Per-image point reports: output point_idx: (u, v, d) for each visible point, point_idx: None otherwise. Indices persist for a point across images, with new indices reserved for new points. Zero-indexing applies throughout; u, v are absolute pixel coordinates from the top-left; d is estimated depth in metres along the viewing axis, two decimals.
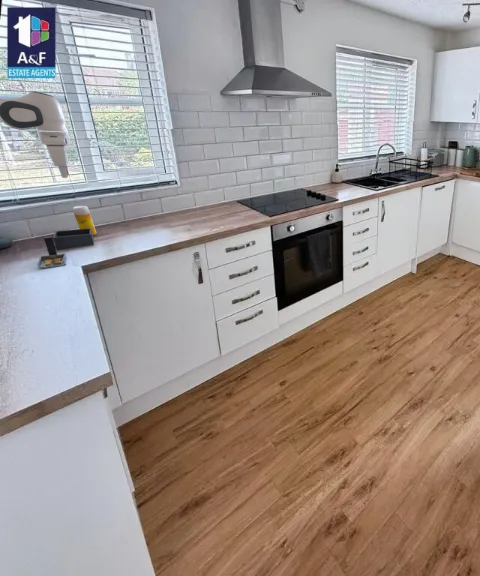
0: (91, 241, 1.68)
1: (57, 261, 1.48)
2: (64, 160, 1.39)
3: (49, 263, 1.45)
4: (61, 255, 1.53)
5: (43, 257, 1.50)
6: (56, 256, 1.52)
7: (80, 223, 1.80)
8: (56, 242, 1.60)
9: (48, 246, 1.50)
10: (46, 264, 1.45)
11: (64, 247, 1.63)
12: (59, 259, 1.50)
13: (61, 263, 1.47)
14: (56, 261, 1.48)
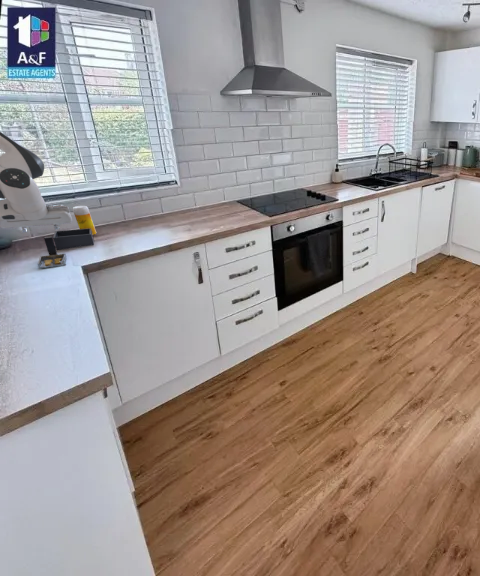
0: (91, 241, 1.68)
1: (57, 261, 1.48)
2: None
3: (49, 263, 1.45)
4: (61, 255, 1.53)
5: (43, 257, 1.50)
6: (56, 256, 1.52)
7: (80, 223, 1.80)
8: (56, 242, 1.60)
9: (48, 246, 1.50)
10: (46, 264, 1.45)
11: (64, 247, 1.63)
12: (59, 259, 1.50)
13: (61, 263, 1.47)
14: (56, 261, 1.48)
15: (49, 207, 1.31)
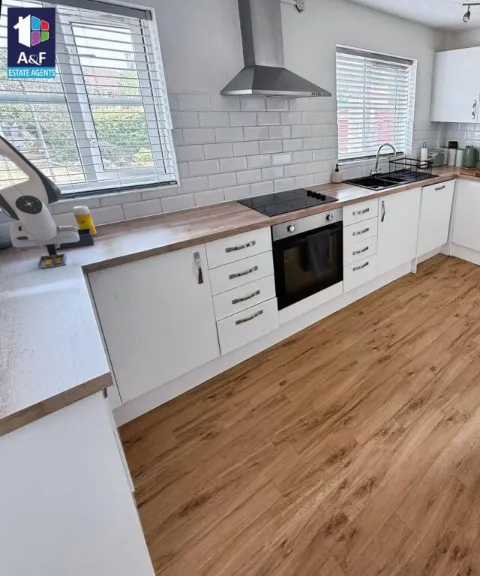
0: (91, 241, 1.68)
1: (57, 261, 1.48)
2: None
3: (49, 263, 1.45)
4: (61, 255, 1.53)
5: (43, 257, 1.50)
6: (56, 256, 1.52)
7: (80, 223, 1.80)
8: None
9: (48, 246, 1.50)
10: (46, 264, 1.45)
11: (64, 247, 1.63)
12: (59, 259, 1.50)
13: (61, 263, 1.47)
14: (56, 261, 1.48)
15: (59, 228, 1.44)
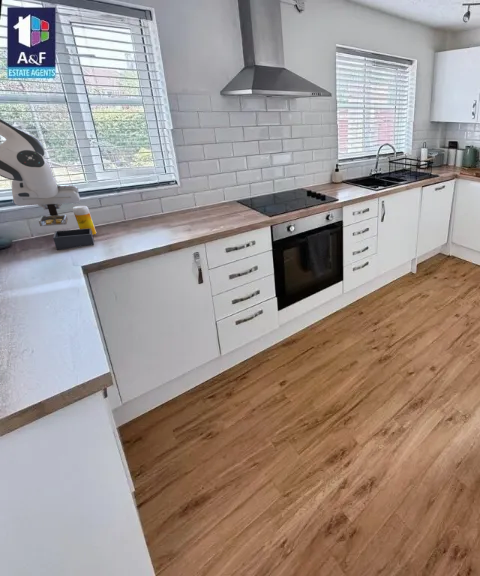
0: (91, 241, 1.68)
1: (58, 220, 1.49)
2: (14, 202, 1.42)
3: (50, 222, 1.47)
4: (62, 216, 1.55)
5: (44, 217, 1.51)
6: (57, 217, 1.54)
7: (80, 223, 1.80)
8: (56, 242, 1.60)
9: (49, 206, 1.52)
10: (47, 223, 1.46)
11: (64, 247, 1.63)
12: (60, 219, 1.52)
13: (62, 222, 1.49)
14: (57, 220, 1.49)
15: (60, 187, 1.46)
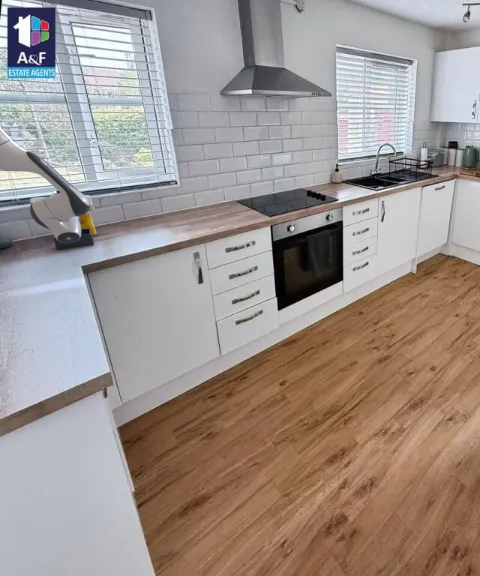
0: (91, 241, 1.68)
1: None
2: None
3: None
4: None
5: None
6: None
7: (80, 223, 1.80)
8: (56, 242, 1.60)
9: None
10: None
11: (64, 247, 1.63)
12: None
13: None
14: None
15: None
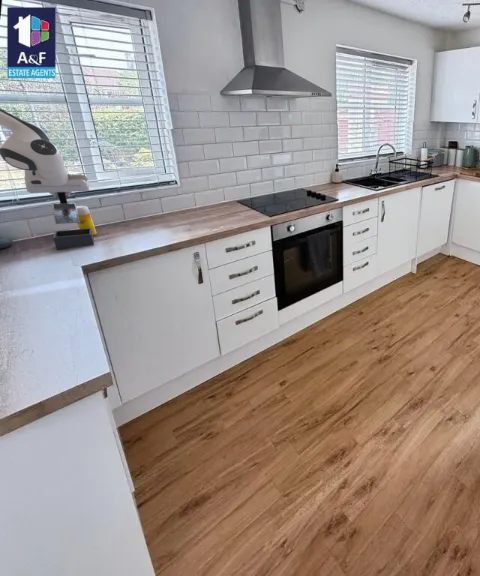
0: (91, 241, 1.68)
1: None
2: None
3: None
4: (71, 204, 1.64)
5: (55, 205, 1.60)
6: (67, 205, 1.63)
7: (80, 223, 1.80)
8: (56, 242, 1.60)
9: (60, 196, 1.59)
10: None
11: (64, 247, 1.63)
12: None
13: (75, 219, 1.61)
14: None
15: (70, 175, 1.52)
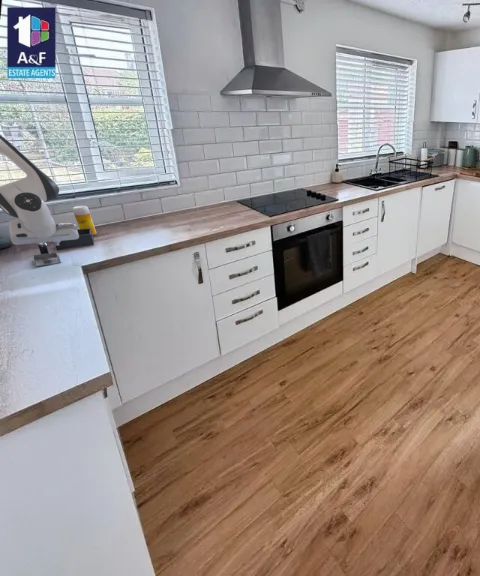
0: (91, 241, 1.68)
1: None
2: (12, 242, 1.40)
3: None
4: (53, 254, 1.55)
5: (35, 256, 1.51)
6: (48, 255, 1.54)
7: (80, 223, 1.80)
8: None
9: (39, 245, 1.51)
10: None
11: (64, 247, 1.63)
12: None
13: (56, 261, 1.49)
14: None
15: (58, 225, 1.44)
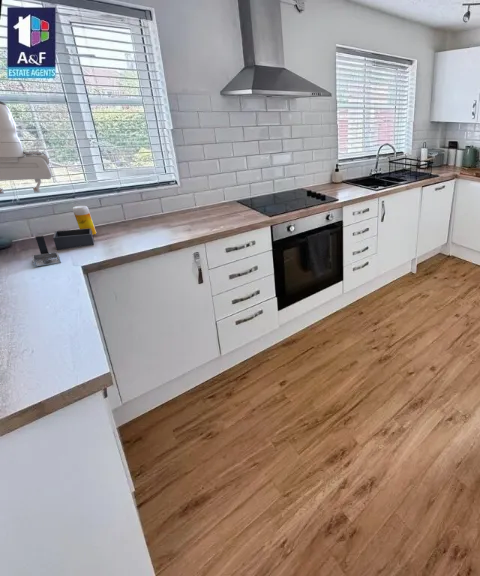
0: (91, 241, 1.68)
1: None
2: None
3: None
4: (53, 254, 1.55)
5: (35, 256, 1.51)
6: (48, 255, 1.54)
7: (80, 223, 1.80)
8: (56, 242, 1.60)
9: (39, 245, 1.51)
10: None
11: (64, 247, 1.63)
12: None
13: (56, 261, 1.49)
14: None
15: (26, 152, 1.27)
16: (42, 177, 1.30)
